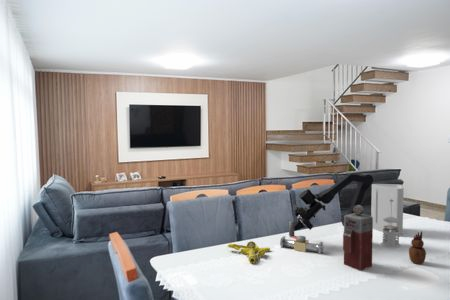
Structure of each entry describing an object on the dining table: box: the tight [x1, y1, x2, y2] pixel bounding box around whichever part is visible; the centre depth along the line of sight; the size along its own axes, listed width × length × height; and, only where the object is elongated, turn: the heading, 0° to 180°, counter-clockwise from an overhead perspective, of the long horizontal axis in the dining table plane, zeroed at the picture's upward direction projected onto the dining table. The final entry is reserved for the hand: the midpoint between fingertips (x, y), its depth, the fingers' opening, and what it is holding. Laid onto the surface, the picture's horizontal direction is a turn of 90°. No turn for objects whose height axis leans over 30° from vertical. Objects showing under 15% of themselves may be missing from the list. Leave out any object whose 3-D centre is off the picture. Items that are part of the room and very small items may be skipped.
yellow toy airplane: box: [227, 240, 271, 264], centre depth 166 cm, size 22×6×20 cm
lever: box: [288, 220, 307, 242], centre depth 177 cm, size 11×4×8 cm, turn 34°
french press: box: [380, 199, 401, 249], centre depth 180 cm, size 10×12×25 cm
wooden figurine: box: [408, 230, 427, 265], centre depth 155 cm, size 7×6×15 cm
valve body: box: [279, 235, 324, 255], centre depth 174 cm, size 22×6×5 cm, turn 61°
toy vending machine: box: [342, 204, 374, 271], centre depth 152 cm, size 9×11×28 cm
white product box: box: [370, 183, 404, 237], centre depth 205 cm, size 19×15×28 cm
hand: (291, 230), depth 182 cm, fingers closed
